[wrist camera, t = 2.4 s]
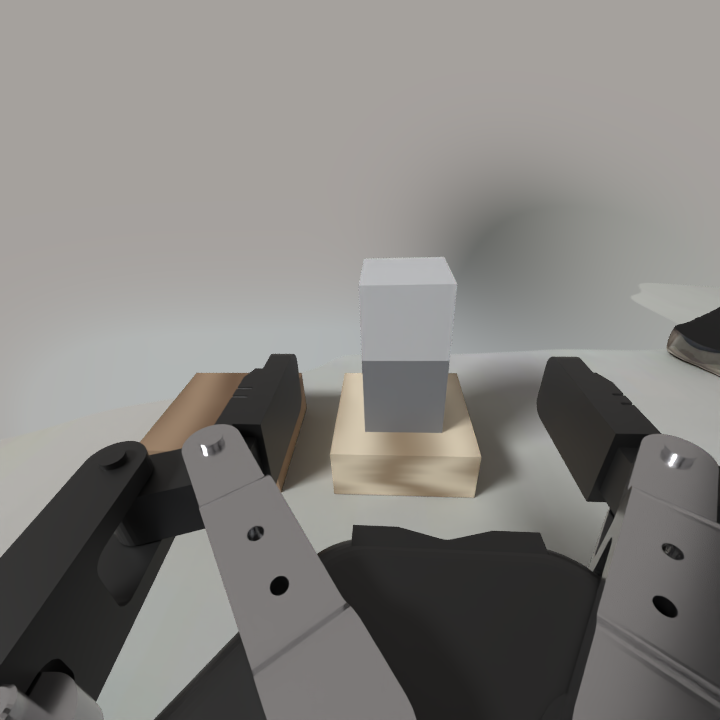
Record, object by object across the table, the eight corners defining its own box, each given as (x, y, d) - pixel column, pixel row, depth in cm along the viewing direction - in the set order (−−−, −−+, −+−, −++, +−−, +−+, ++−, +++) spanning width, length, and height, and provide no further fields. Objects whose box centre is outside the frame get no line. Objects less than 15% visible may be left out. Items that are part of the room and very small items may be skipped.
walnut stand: (306, 407, 36) (301, 373, 33) (280, 492, 27) (272, 453, 25) (207, 406, 36) (196, 372, 34) (152, 488, 28) (133, 450, 26)
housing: (433, 388, 31) (444, 256, 25) (442, 433, 26) (457, 283, 20) (368, 387, 31) (364, 258, 25) (365, 431, 26) (358, 285, 21)
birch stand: (452, 408, 34) (456, 373, 32) (474, 497, 26) (481, 457, 24) (347, 407, 35) (344, 373, 33) (334, 493, 27) (330, 454, 25)
